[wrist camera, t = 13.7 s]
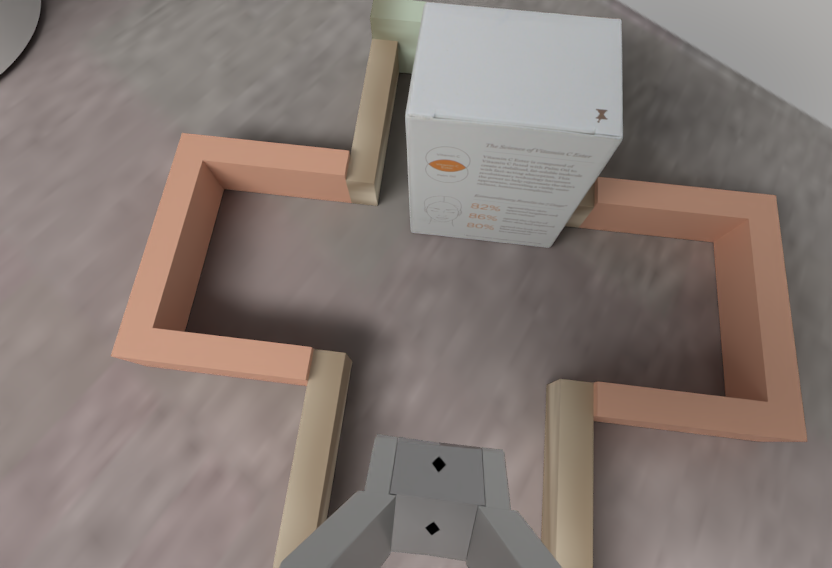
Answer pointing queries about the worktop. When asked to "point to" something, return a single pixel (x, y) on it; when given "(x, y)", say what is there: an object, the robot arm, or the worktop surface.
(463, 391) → the worktop surface
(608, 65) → the small box
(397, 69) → the trap lane
